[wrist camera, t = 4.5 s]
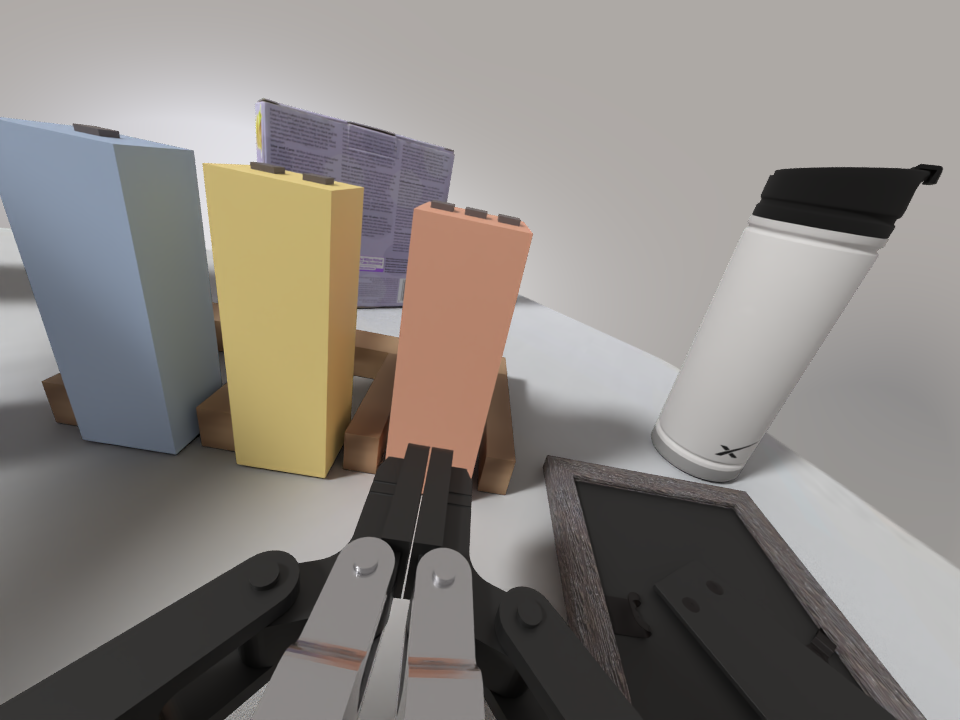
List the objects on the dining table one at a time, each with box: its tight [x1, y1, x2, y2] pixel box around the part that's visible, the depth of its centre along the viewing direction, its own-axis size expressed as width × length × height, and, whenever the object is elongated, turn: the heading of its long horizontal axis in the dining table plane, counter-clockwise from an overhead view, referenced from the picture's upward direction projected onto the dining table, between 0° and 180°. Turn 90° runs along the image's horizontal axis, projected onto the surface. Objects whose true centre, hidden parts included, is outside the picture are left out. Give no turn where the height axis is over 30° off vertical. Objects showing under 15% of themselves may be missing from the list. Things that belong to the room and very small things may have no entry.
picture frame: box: [543, 455, 926, 720], centre depth 16 cm, size 13×2×18 cm
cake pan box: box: [255, 98, 454, 308], centre depth 40 cm, size 19×5×18 cm, turn 123°
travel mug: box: [651, 164, 943, 482], centre depth 24 cm, size 6×7×20 cm
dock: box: [42, 302, 516, 495], centre depth 26 cm, size 24×13×2 cm, turn 89°
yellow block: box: [203, 162, 364, 478], centre depth 18 cm, size 4×4×14 cm
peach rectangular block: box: [385, 200, 533, 494], centre depth 19 cm, size 4×4×14 cm
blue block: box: [0, 117, 222, 454], centre depth 18 cm, size 4×4×14 cm
